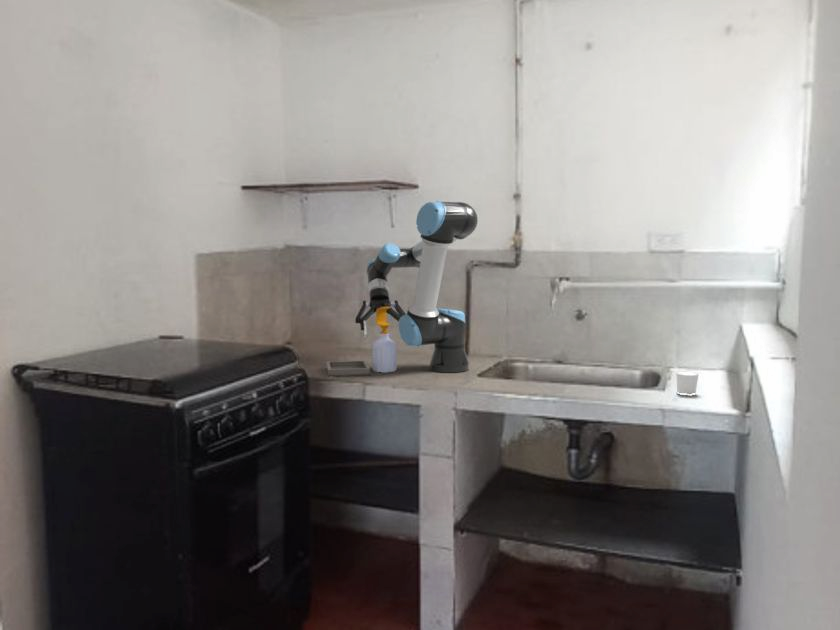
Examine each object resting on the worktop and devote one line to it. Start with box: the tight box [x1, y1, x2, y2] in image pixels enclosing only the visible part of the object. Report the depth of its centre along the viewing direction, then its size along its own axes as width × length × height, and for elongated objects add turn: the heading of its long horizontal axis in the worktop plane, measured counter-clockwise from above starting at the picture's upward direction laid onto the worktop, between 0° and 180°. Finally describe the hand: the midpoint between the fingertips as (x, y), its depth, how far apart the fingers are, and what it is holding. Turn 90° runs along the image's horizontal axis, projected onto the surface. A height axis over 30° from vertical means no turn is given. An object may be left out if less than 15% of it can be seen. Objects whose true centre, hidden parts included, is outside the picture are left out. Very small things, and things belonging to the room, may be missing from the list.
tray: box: [326, 360, 371, 377], centre depth 268 cm, size 15×16×3 cm
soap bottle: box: [371, 306, 397, 374], centre depth 269 cm, size 9×9×25 cm
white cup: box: [675, 371, 699, 394], centre depth 234 cm, size 7×7×7 cm
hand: (383, 336), depth 269 cm, fingers open, 13 cm apart
